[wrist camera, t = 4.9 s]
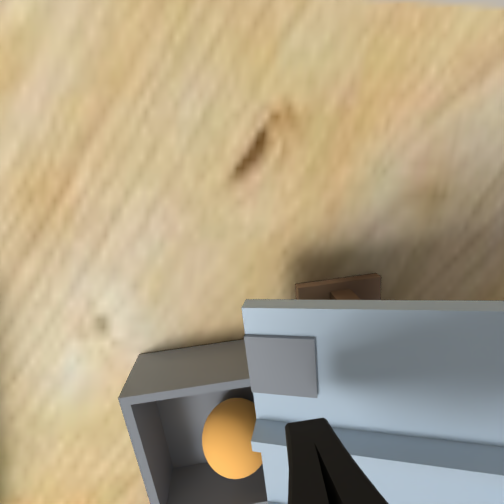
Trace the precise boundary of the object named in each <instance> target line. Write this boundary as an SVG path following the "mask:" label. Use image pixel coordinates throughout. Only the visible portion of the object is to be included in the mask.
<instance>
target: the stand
mask: <svg viewBox="0 0 504 504" xmlns="http://www.w3.org/2000/svg"><path fill="white" fill-rule="evenodd" d="M295 285H296V299H297V300H381V276H379V275H378V274H376V273H374V274H367V275H359V276H352V277H345V278H337V279H330V280H323V281H316V282H308V283H301V284H295Z"/></svg>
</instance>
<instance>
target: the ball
mask: <svg viewBox="0 0 504 504" xmlns="http://www.w3.org/2000/svg"><path fill="white" fill-rule="evenodd" d="M255 423H256V411H255V404H254V403H253V402H251V401H250V400H247V399H244V398H230V399H227V400H225V401H223V402H221V403H220V404H218V405H217V406H216V407H215V408H214V409H213V410H212V411H211V413H210V414H209V416H208V417H207V419H206V422H205V424H204V428H203V433H202V446H203V451H204V455H205V457H206V459H207V461H208V463H209V465H210V466H211V467H212V469H213V470H214V471H215V472H217V473H218V474H220V475H221V476H223V477H226V478H229V479H241V478H245V477H247V476H249V475H251V474H252V473H254V472H255V471H256V470H257V469H258V468H259V467H260V466H261V465H262V455H261V452H254V451H252V445H251V439H252V435H253V431H254V427H255Z"/></svg>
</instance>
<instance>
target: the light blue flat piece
mask: <svg viewBox="0 0 504 504" xmlns="http://www.w3.org/2000/svg"><path fill="white" fill-rule="evenodd" d="M242 315H243V322H244V330H245V335H244V341H245V348H246V356H247V363H248V370H249V377H250V385H251V392H253V396H254V404H255V411H256V423H255V427H254V431H253V435H252V439H251V445H252V451H254V452H261V455H262V463H263V470H264V478H265V485H266V492H267V500H268V502H267V504H288V479H289V466H288V456H287V445H286V435H285V425H286V424H287V423H291V422H298V421H304V420H311V419H317V418H323V417H324V418H325V419H327V421H328V422H329V424H330V426H331V427H332V429H333V430H334V432H335V433H336V435H337V436H338V438H339V439H340V441H341V442H342V444H343V445H344V447H345V448H346V449H347V451H348V452H349V454H350V455H351V456H352V458H353V459H354V460H355V462H356V463H357V464H358V466H359V467H360V468H361V470H362V471H363V472H364V474H365V475H366V476H367V477H368V479H369V480H370V481H371V482H372V484H373V485H374V486H375V488H376V489H377V490H378V491H379V493H380V494H381V495H382V496H383V497H384V499H385V500H386V501H387V502H388V503H389V504H504V301H465V300H281V299H246V300H245V302H244V304H243V306H242Z"/></svg>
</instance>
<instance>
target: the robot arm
mask: <svg viewBox="0 0 504 504" xmlns="http://www.w3.org/2000/svg"><path fill="white" fill-rule="evenodd" d="M285 435H286V445H287V456H288V466H289V479H288V504H389V503H388V502H387V501H386V500H385V499H384V497H383V496H382V495H381V494H380V493H379V491H378V490H377V489H376V488H375V486H374V485H373V484H372V482H371V481H370V480H369V479H368V477H367V476H366V475H365V474H364V472H363V471H362V470H361V468H360V467H359V466H358V464H357V463H356V462H355V460H354V459H353V458H352V456H351V455H350V454H349V452H348V451H347V449H346V448H345V447H344V445H343V444H342V442H341V441H340V439H339V438H338V436H337V435H336V433H335V432H334V430H333V429H332V427H331V426H330V424H329V422H328V421H327V419H325V418H324V417H323V418H317V419H311V420H304V421H298V422H291V423H287V424H286V425H285Z"/></svg>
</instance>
